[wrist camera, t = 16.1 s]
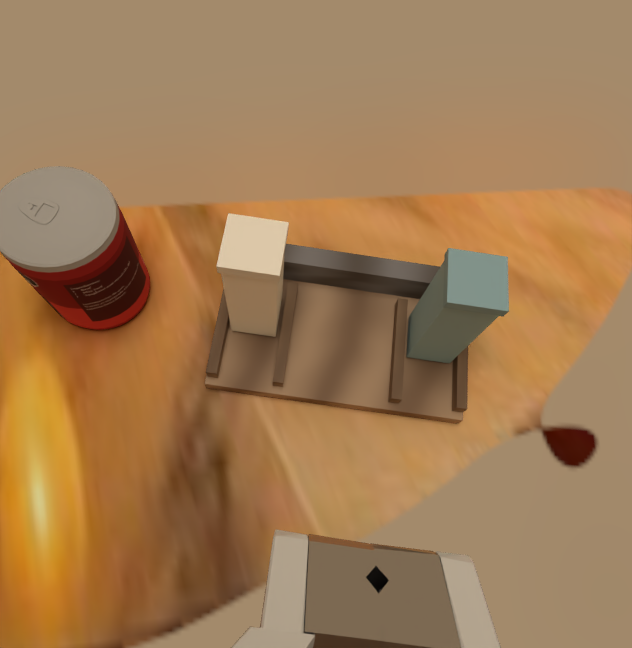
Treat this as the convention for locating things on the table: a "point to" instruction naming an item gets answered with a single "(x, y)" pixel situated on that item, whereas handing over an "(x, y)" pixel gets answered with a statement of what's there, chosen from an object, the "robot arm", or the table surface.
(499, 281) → the light blue tall block
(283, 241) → the cream tall block
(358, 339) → the board
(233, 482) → the table surface
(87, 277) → the canned food
